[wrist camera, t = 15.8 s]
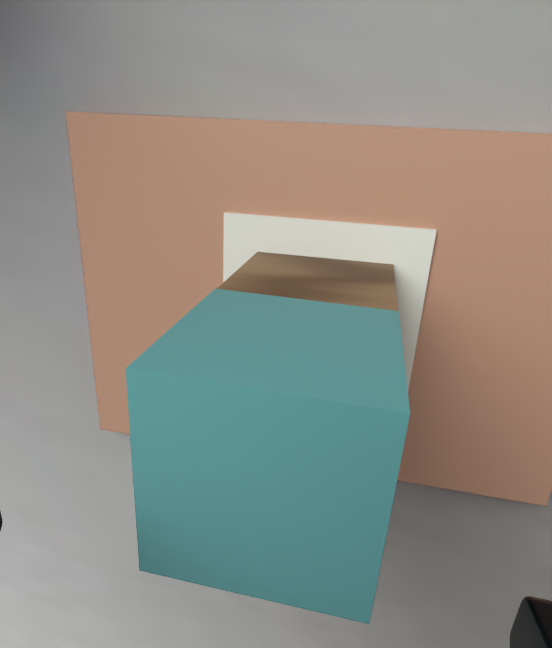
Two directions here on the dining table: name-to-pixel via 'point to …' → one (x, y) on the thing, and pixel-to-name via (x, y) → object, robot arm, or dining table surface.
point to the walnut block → (317, 280)
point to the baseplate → (346, 244)
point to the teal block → (270, 448)
